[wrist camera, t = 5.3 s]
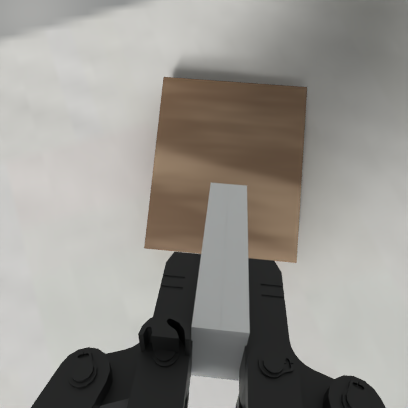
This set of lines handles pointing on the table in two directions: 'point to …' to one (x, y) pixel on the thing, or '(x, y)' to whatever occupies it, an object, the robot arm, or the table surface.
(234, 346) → the robot arm
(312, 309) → the table surface
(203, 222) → the walnut tile
